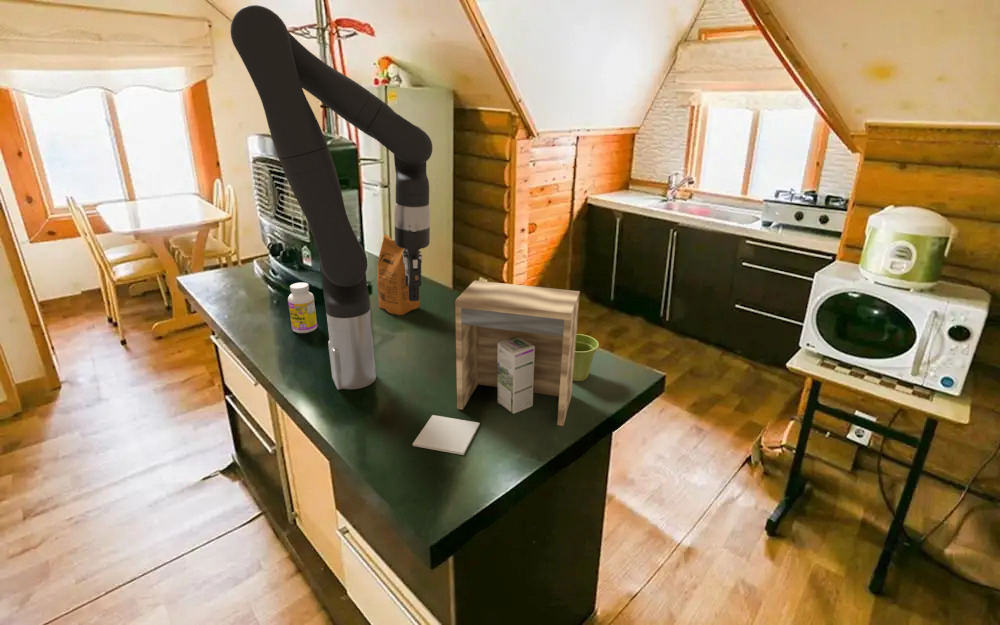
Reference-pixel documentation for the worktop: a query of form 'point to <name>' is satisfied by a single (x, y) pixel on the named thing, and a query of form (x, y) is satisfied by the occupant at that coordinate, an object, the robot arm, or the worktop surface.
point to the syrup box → (515, 374)
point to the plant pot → (583, 356)
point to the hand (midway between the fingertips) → (411, 292)
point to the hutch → (516, 313)
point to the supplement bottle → (302, 308)
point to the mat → (447, 434)
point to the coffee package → (393, 280)
